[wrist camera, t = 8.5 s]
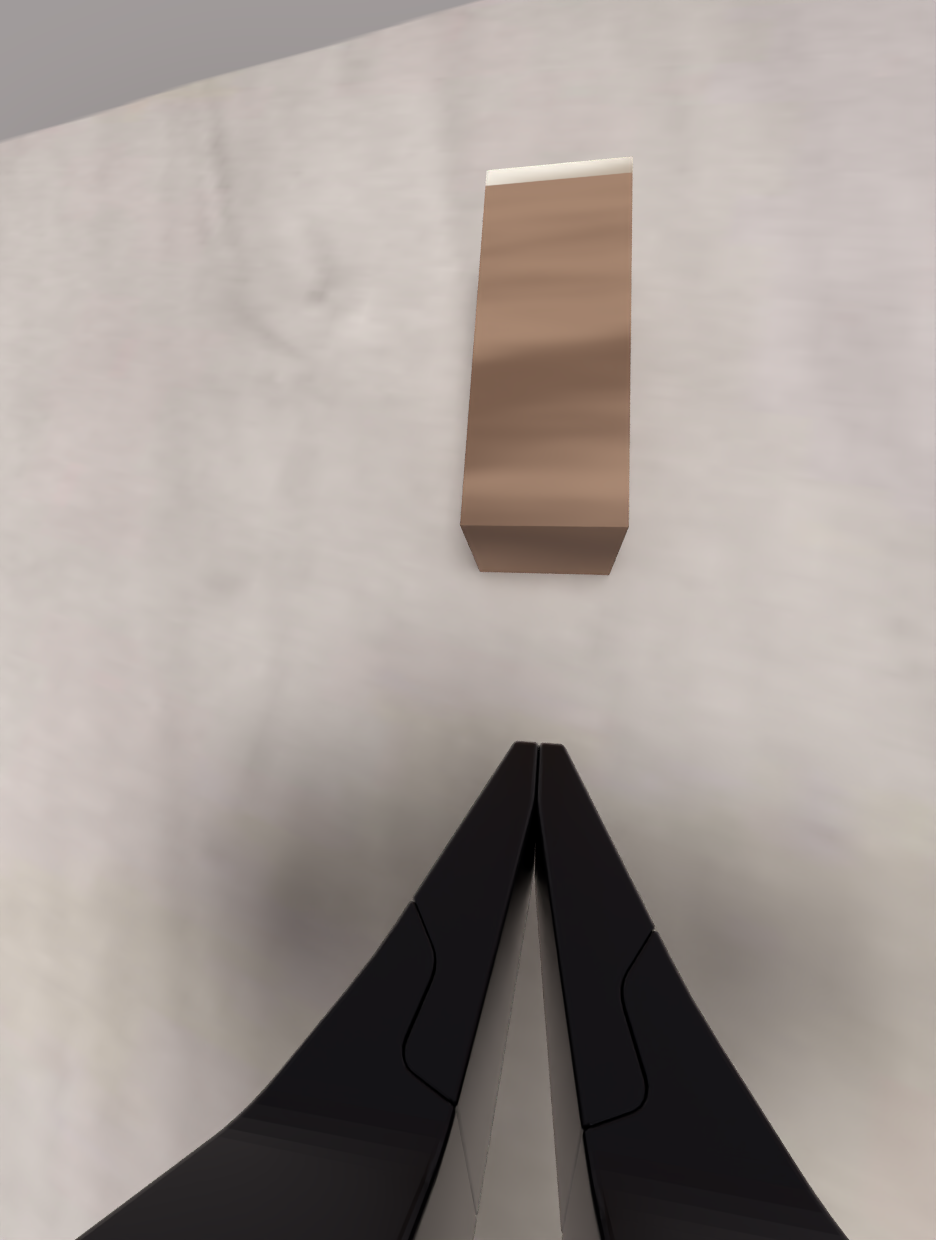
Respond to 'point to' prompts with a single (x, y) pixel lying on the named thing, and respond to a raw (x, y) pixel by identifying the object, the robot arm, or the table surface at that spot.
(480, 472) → the walnut block
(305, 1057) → the robot arm
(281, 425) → the table surface
